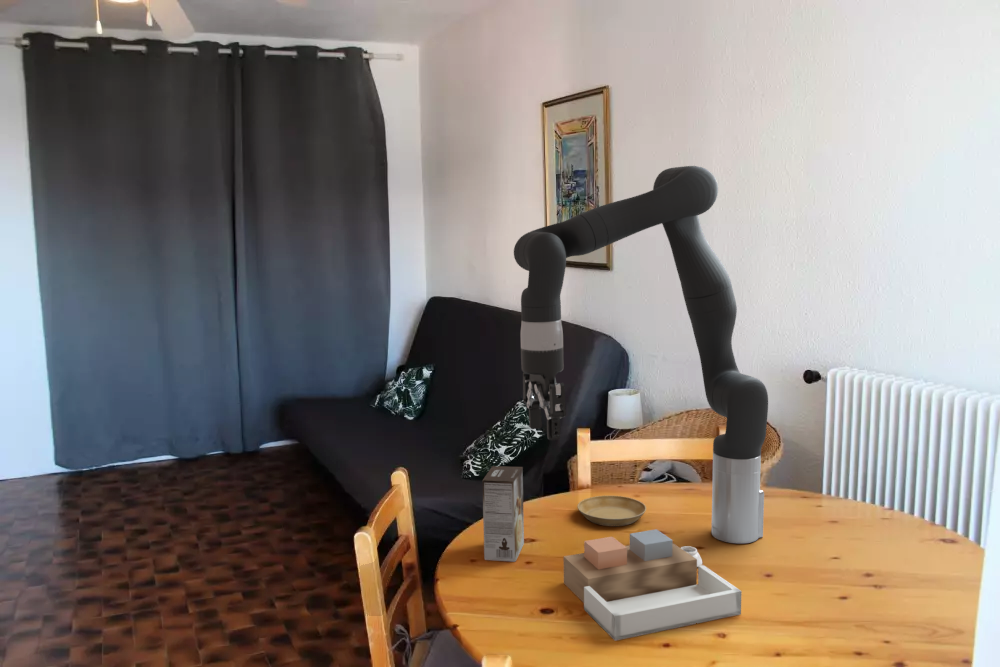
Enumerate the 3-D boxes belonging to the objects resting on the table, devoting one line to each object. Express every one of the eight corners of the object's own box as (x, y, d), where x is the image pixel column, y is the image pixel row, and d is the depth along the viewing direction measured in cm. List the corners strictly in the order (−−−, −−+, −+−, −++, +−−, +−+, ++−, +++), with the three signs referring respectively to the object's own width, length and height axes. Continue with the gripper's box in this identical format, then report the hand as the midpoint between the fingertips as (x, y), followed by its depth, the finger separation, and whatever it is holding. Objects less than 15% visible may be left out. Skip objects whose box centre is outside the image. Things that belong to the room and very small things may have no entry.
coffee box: (493, 542, 169) (491, 464, 167) (524, 543, 168) (523, 466, 166) (483, 560, 160) (481, 479, 158) (516, 562, 159) (515, 480, 157)
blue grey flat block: (656, 544, 154) (656, 529, 153) (672, 556, 149) (672, 540, 148) (629, 549, 152) (629, 533, 151) (644, 561, 147) (644, 544, 146)
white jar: (681, 571, 155) (706, 568, 156) (681, 555, 154) (706, 553, 155) (670, 560, 159) (695, 557, 160) (670, 545, 159) (695, 542, 160)
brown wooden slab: (666, 564, 157) (666, 538, 156) (696, 586, 148) (696, 559, 147) (563, 583, 150) (563, 556, 149) (588, 607, 141) (588, 578, 140)
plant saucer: (581, 504, 191) (581, 493, 190) (647, 507, 188) (647, 496, 187) (573, 528, 176) (573, 516, 176) (645, 532, 173) (645, 520, 173)
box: (702, 586, 148) (703, 564, 147) (740, 614, 137) (741, 591, 137) (584, 609, 140) (584, 586, 139) (614, 640, 130) (615, 616, 129)
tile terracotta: (612, 552, 151) (612, 536, 150) (626, 564, 146) (627, 547, 145) (584, 557, 149) (584, 541, 148) (598, 569, 144) (598, 552, 143)
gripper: (578, 349, 144) (580, 441, 146) (545, 338, 157) (548, 422, 160) (537, 353, 142) (540, 446, 144) (508, 341, 155) (511, 427, 157)
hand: (544, 433), depth 152 cm, fingers open, 8 cm apart
